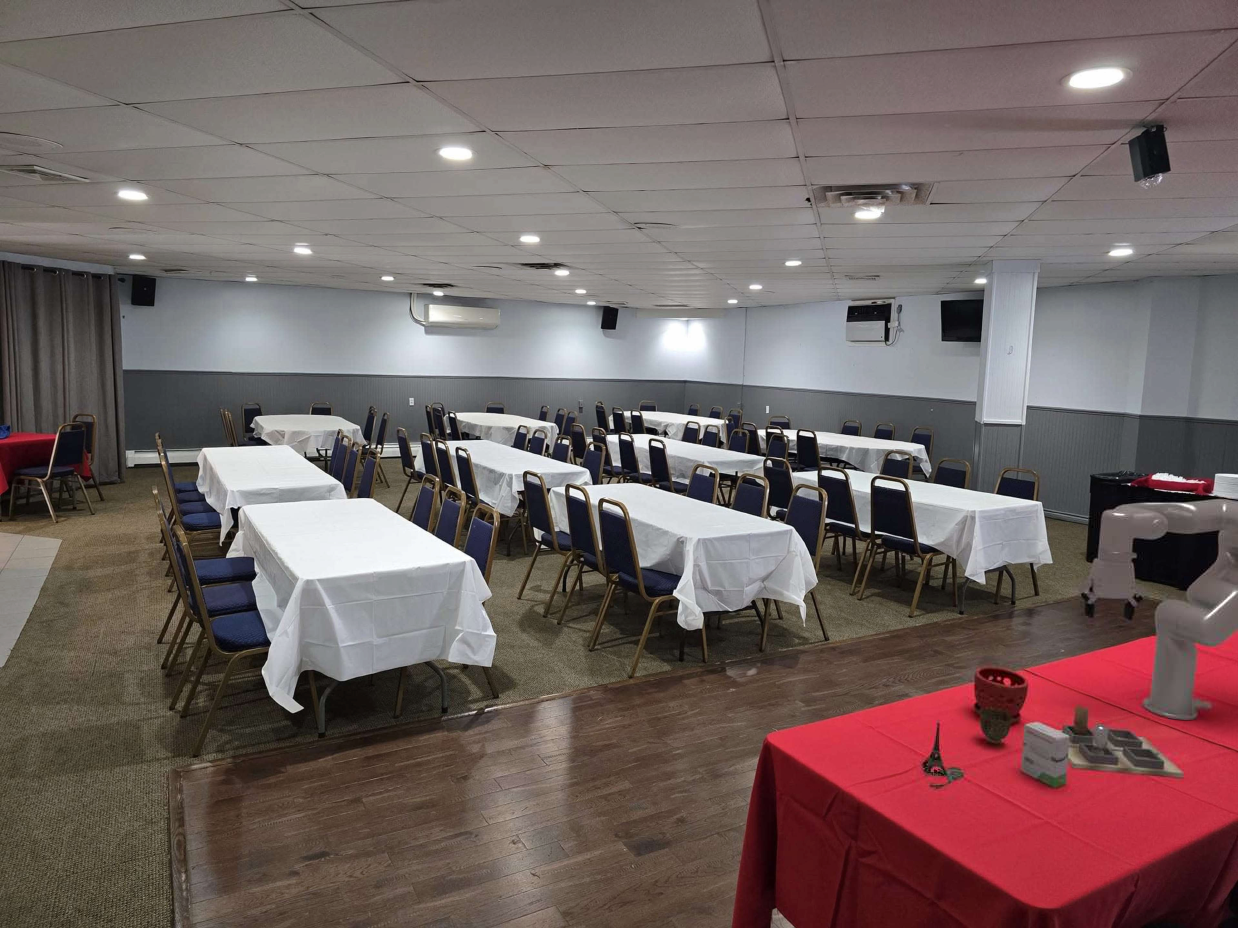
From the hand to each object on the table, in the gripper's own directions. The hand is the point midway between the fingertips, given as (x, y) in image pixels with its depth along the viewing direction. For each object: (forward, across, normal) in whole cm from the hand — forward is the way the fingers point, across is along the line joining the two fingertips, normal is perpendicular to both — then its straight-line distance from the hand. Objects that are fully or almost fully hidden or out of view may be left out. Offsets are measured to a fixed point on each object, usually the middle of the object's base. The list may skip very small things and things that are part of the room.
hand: (1108, 617), depth 212 cm
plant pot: (+28, +28, +6) cm, 40 cm away
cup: (+28, +34, +22) cm, 49 cm away
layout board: (+28, +7, +23) cm, 37 cm away
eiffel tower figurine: (+28, +53, +40) cm, 72 cm away
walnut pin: (+27, +12, +18) cm, 35 cm away
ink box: (+28, +28, +38) cm, 55 cm away
